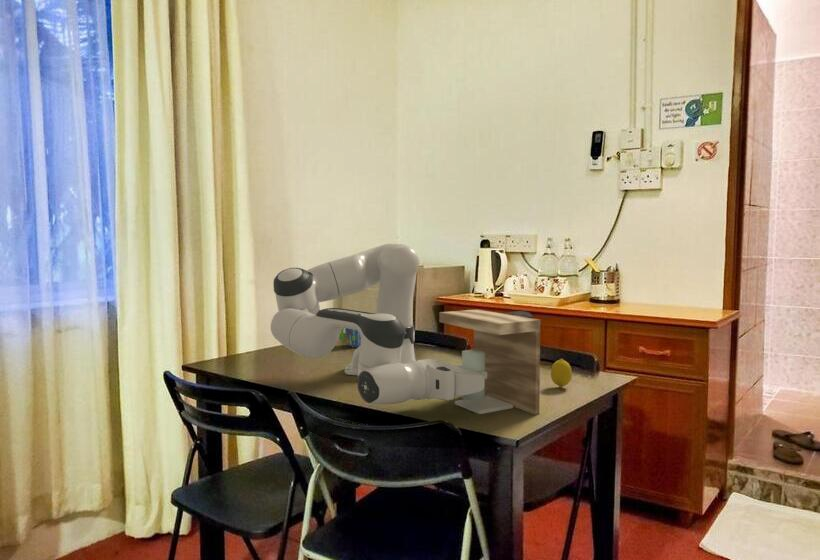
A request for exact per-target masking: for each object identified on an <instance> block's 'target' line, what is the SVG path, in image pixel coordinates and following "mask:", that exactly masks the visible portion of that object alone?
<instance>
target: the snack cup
mask: <svg viewBox="0 0 820 560" xmlns="http://www.w3.org/2000/svg"><path fill="white" fill-rule="evenodd" d="M344 330H345V334H344ZM345 338H346V344H347V346H348V347H350V346H353V347H352V348H358V347H359V346H360V345H361V337H360V333H359V331H358V330H353V329H348V328H343V329H342V331H341V333H340V335H339V340H342V341H344V340H345Z"/></svg>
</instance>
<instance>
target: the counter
mask: <svg viewBox="0 0 820 560" xmlns="http://www.w3.org/2000/svg"><path fill="white" fill-rule="evenodd" d="M438 315H439V317H438V319H439V321H438V322H439V323H442V324H446V325H452V326H456V327H460V328H464V329H469V330H472V331H473V350H482V351H485V371H486V372H487V379H485V398H484V399H482V400H466V399H459V400H455V401H454V405H456V406H459V407H461V408H463V409H466V410H468V411H471V412H474V413H475V414H477V415H482V414H489V413H493V412H499V411H505V410H509V409H514V408H516V409H518V410H521V411H524V412H527V413H530V414H532V415H535V416H536V415H540V395H541V394H540V391H541V390H540V388H541V387H540V386H541V384H540V383H541V380H540V379H541V376H540V375H541V319H538V318H533V317H532V318H526V317H520V316H514V315H508V314H504V313H503V312H496V311H490V310H483V309H477V308H476V309H466V310H453V311H452V310H451V311H439V312H438Z"/></svg>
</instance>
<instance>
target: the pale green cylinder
mask: <svg viewBox="0 0 820 560" xmlns="http://www.w3.org/2000/svg"><path fill="white" fill-rule="evenodd" d="M461 366H462V368H465V369H468V370H471V371H474V372H478V371H485V351H482V350H474V349H465V350H462V351H461ZM484 398H485V388H484V390H483V391H481V392H478V393H474V394H469V395H464V396H461V399H462V400H464V399H466V400H482V399H484Z"/></svg>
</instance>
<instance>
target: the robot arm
mask: <svg viewBox="0 0 820 560" xmlns="http://www.w3.org/2000/svg"><path fill="white" fill-rule="evenodd" d="M419 267H420V259H419V256H418V254H417V253H416V251H414V249H413V248H412V247H410V246H409V245H406V244H402V243H385V244H381V245H378V246H375V247H372V248H369V249H366V250H363V251H360V252H358V253H356V254H352V255H349V256H345V257H342V258H338V259H335V260H331V261H328V262H325V263H324V262H323V263H321V264H318V265H316V266H314V267H312V268H309V269H307V270H306V269H304V268H300V267H290V268H289V267H288V268H286V269H284V270H281V271H279V272H278V273H277V275H276V276H275V277H274V279H273V284H272V285H273V292H274V294H275V299H276V300H275V301H276V305H277V309H278V311H277V312H276V313H275V314H274V315H273V317H272V319H271V322H270V332H271V335H272V337H273V338H274V339H276V341H277V342H279V343H280V345H282V346H283V347H285V348H287V349H288V350H290V351H291V352H293V353H295V354H297V355H299V356H302V357H304V358H307V359H310V360H311V359H312V360H314V359H315V360H316V359H320V358H322V357H325V356H326V355H328V354H329V353H330V352H331V351H332V350H333V349H334V348H335V346H337V343H338V341H339V339H340V337H339V335H340V333H341V331H342V329H343V328H344V329H345V328H348V329H353V330H358V331H359V333H360V337H361V345H360V346H359V347H356V349H355V350H354V351H353V354H352V358H351V363H349V364H347V365H346V366H345V367H344V374H345V375H349V376H357V382H356V383H357V384H356V385H357V391H358V393H359V395H360V397H361V399H362V400H363V401H364V402H365V403H367V404H369V405H393V404H394V405H396V404H402V403H406V402H407V401H410V400H414V401H420V400H421V401H422V400H426V399H428V400H431V399H437V400H443V401H453V400H455V397H462V396H464V395H469V394H474V393H478V392H481V391H483V390H484V388H485V379H487V372H486V371H478V372H474V371H471V370H468V369H465V368H462V365H455V364H452V363H449V362H445V361H443V360H440V359H438V360H437V359H435V358H426V359H424V358H423V359H419V360H416V354H415V348H414V347H415V346H414V345H415V344H414V343H415V341H416V340H415V338H416V337H415V333H416V332H415V325H414V323H413V320H414V319H413V315H414V314H413V313H414V311H413V310H414V309H413V308H414V307H413V306H414V305H413V304H414V292H415V288H416V283H417V282H416V281H417V273H418V271H419ZM377 285H379V286H378V287H379V288H378V293H377V298H376V312H367V311H362V310H361V311H360V310H354V309H347V308H339V307H329V308H323V309H321V306H320V303H323V302H329V301H332V300H336V299H339V298H343V297H346V296H349V295H352V294H355V293H359V292H362V291H365V290H367V289H369V288H372V287H374V286H377Z"/></svg>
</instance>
